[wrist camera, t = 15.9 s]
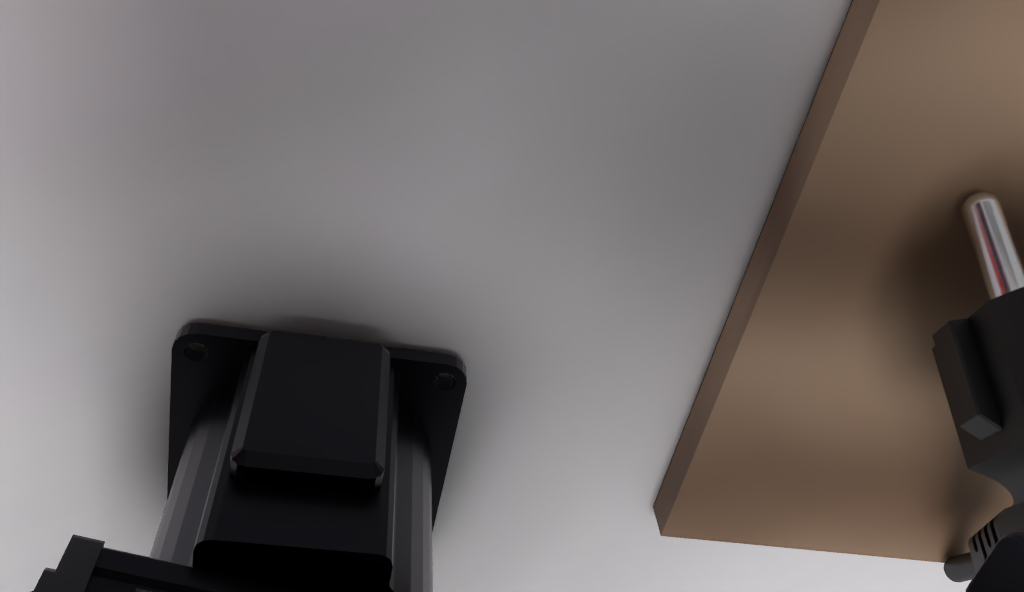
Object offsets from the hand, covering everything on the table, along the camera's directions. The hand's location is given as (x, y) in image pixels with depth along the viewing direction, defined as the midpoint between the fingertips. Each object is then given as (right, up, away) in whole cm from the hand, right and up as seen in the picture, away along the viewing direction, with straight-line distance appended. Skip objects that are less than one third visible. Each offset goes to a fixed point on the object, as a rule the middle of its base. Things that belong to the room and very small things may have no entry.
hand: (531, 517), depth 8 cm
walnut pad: (+11, +2, +14) cm, 18 cm away
